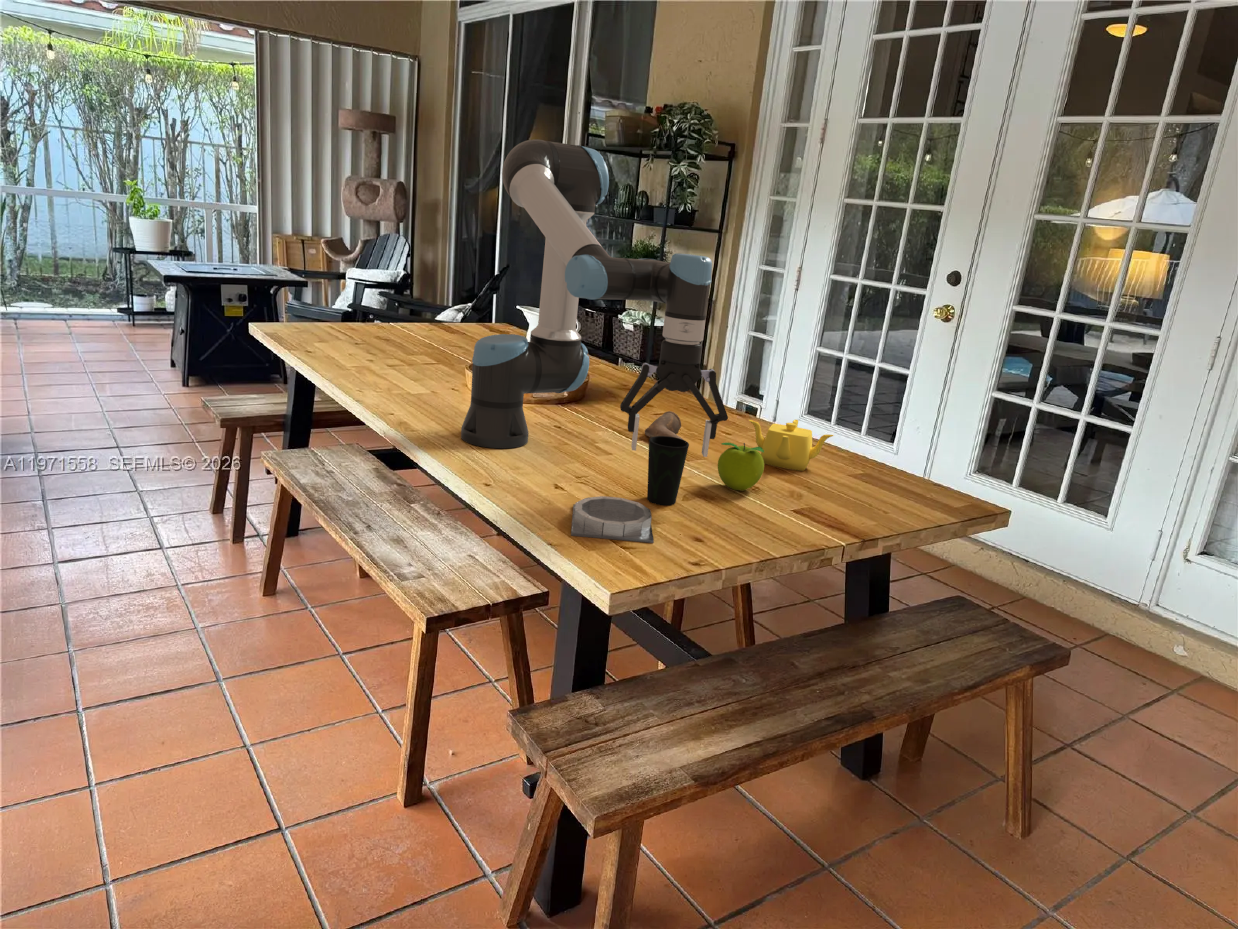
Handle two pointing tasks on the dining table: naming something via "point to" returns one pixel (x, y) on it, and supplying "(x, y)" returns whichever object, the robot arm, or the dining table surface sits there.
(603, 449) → the dining table surface
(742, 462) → the fruit
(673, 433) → the pipe
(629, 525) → the duct collar
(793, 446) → the teapot
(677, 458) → the cup
